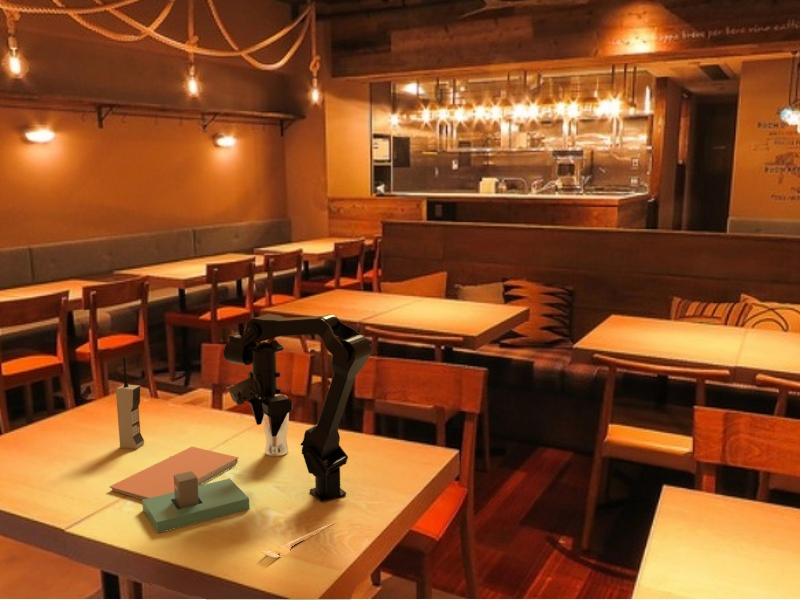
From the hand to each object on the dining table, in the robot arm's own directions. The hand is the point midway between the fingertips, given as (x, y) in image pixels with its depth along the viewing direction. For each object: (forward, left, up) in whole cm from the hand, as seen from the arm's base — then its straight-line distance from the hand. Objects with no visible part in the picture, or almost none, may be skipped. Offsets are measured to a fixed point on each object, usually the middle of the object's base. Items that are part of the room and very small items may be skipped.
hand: (266, 430), depth 173 cm
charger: (-7, +22, -12) cm, 26 cm away
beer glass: (+13, -8, -12) cm, 20 cm away
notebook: (+12, +18, -13) cm, 25 cm away
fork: (-32, +6, -13) cm, 35 cm away
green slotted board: (-7, +20, -12) cm, 24 cm away
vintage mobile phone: (+38, +23, -12) cm, 46 cm away
